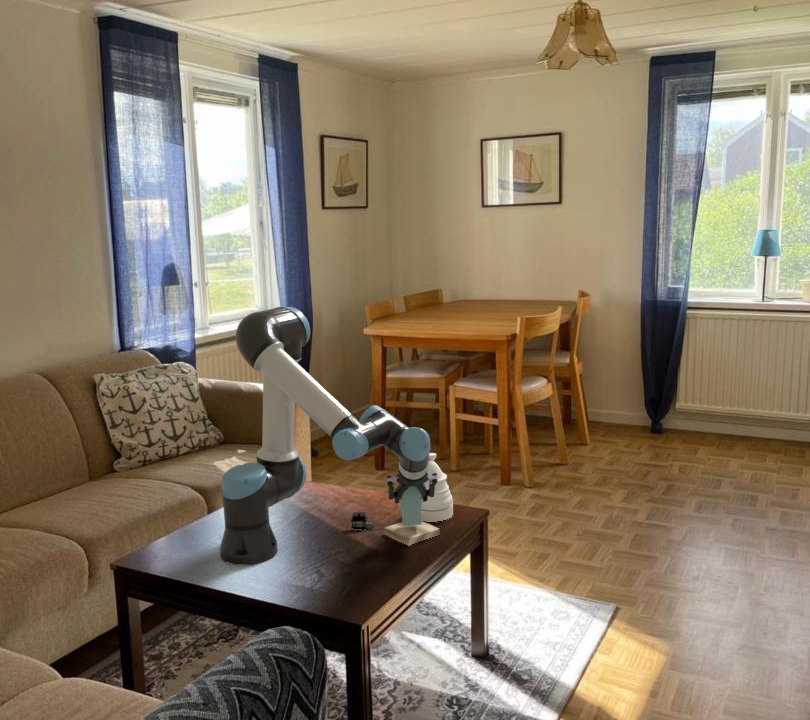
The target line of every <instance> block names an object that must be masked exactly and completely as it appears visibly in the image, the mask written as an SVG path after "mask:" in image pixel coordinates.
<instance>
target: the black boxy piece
mask: <svg viewBox="0 0 810 720" xmlns="http://www.w3.org/2000/svg"><path fill="white" fill-rule="evenodd" d="M368 519H369V518H368V515H367V511H366V512H365V511H361V512H360V511H359V512H358V511H354V512H353V513H352V516H351V520H350V522H351V524H352V526H351V528H353V529H362V530H364V529H366V530H372V529H373V528H374V526H377V524H376V525H374V526H373V524H374V523H368Z"/></svg>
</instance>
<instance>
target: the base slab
mask: <svg viewBox="0 0 810 720" xmlns="http://www.w3.org/2000/svg"><path fill="white" fill-rule="evenodd" d="M440 530H441V529H440V527H437V526H435V525H433V524H431V523H426V522H423V521H421V525H403V522H402V521H400V522H397V523H395V524H391V525H388V526H385V527H383V531H384V532H383V533H384V535H385V536H387V537H389V538H391V539H393V540H395V541H397V542H398V543H401V542H402V543H401V544H403V543H404V544H403V545H405V544H406V545H405V546H407V545H408V546H407V547H411V546H413V545H412V544H414V545H416V544H415V543H417V544H419V543H418V542H420V541H423V540H426V539H428V540H430V539H429V538H431V539H433V538H432V537H434V538H436V537H435V536H437V537H439V536H438V535H440V536H441V531H440ZM426 541H427V540H426ZM423 542H424V541H423ZM420 543H421V542H420ZM410 545H411V546H410Z"/></svg>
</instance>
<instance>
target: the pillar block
mask: <svg viewBox="0 0 810 720" xmlns="http://www.w3.org/2000/svg"><path fill="white" fill-rule="evenodd" d="M401 522H403V525H421V495H420V491H419V490H418V489H417V487H409V488H408V489H407V490H405V492H404V493H403V495H402V510H401Z"/></svg>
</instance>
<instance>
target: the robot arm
mask: <svg viewBox="0 0 810 720" xmlns="http://www.w3.org/2000/svg"><path fill="white" fill-rule="evenodd" d="M310 336H311V327H310V323H309V320H308V318H307V317H306V316H305V315H304V313H303V312H302V311H300V310H299V309H298V308H295V307H294V306H293V307H292V306H277V307H274V308H271V309H266V310H262V311H256V312H252V313H249V314H247V315H246V316H245V317H243V318H242V319H241V320H240V322H239V324H238V325H237V329H236V330H235V343H236V346H237V349H238V351H239V353H240V355H241V356H242V357H243V359H244V361H245V362H246V363H247V364H248V365H249V366H250V367H251V368H252V369H253V370H255V372H257V373H263V375H262V377H263V379H262V380H263V381H262V391H263V392H262V442H261V443H262V444H261V448H260V449H259V450H257V452H256V462H247V463H243V464H238V465H235V466H232V467H230V468H229V469H228V470H226V471H225V472H224V474H223V476H222V479H221V494H222V495H221V496H222V506H223V517H224V518H223V519H224V531H223V535H222V538H221V539H222V540H221V543H220V547H219V553H220V554H219V555H220V559H221V560H222V561H223V560H224V561H223V562H225V561H226V562H225V563H227V562H229V563H228V564H231V563H232V564H231V565H237V564H247V565H255V564H258V563H263V562H266V561H268V560H270V559H272V558H274V557H275V556H276V555H277V554H278V541H277V538H276V536H275V534H274V531H273V529H272V525H271V523H270V515H269V510H270V509H269V508H271V507H273V506H274V505H276V504H278V503H281V502H282V501H284V500H287V499H289V498H292V497H293V496H294V495H295V494H297V493H298V492H299V491H301V490H302V488H303V487H304V485H305V483H306V480H307V467H306V464H305V463H303V462H304V460H303V459H302V457H300V452H299V451H298V449H296V448H295V447H294V445H295V441H294V439H295V405H297V406H298V408H299V409H301V410H302V411H303V412H304V413H305V414H306V415H307V416H308V417H309V418H310V419H311V420H313V422H314V423H316V425H318V426H319V427H320V428H321V429H322V431H324V432H325V434H327V435H328V436H329V437H330V438H331V439H332V442H331V443H332V445H331V446H332V448H333V451H334V453H335V454H336V456H337V457H338V458H340V460H341V459H342V460H343V461H353V460H356V459H359V458H362V457H363V456H364V455H366V454H367V453H369V452H371V451H374V450H375V449H378V448H380V447H381V446H383V447H384V448H385V449H387V450H388V451H390V452H391V453H393V454H394V455H396V456H397V457H398V472H397V474H396V476H392V475H387V476H386V481H387V487H388V488H387V489H388V490H387V491H388V500H393V499H394V504H398V511H402V495H403V493H404V492H405V490H407V489H408V488H409V487H417V489H418V490H419V491H420V495H421V509H422V505H423V502H426V501H427V500H428V499H427V497H428V496H430V497H434V492H435V485H436V484H437V482H438V480H437V473H433V474H432V475H428V473H427V470H428V460H430V459H429V454H430V453H431V439H430V438H431V437H430V435H429V433H428V432H427V431H426V430H425V429H424V428H420V427H416V426H411V427H409V426H408V425H406V423H403V421H401V420H399V419H398V418H397V417H395V416H394V415H392V414H391V413H390V412H389V411H387V410H386V409H384V408H382V407H381V406H379V405H376V404H373V405H371V406H369V407H368V408H367V409H366V410H365V411H364V412H363V413H362V415H361V416H360V418H359V419H358V418H356V417H355V416H354V415H353V414H352V413H351V412H350V411H349V410H348V409H347V408H346V407H345V406H344V405H343V404H341V402H340V401H338V400H337V399H336V398H335V397H334V396H333V395H332V394H331V393H330V392H329V391H327V390H326V389H325V388H324V386H322V385H321V384H320V382H318V381H317V380H316V379H315V378H314V376H312V375H311V374H310V373H309V372H307V371H306V369H305V368H303V367H302V366H301V365H300V364H299V361H301V360H302V353H303V352H302V350H303V349H302V347H305V345H306V344H307V343H308V341H309V340H310ZM428 480H429V490H427V489H426V487H425V485H424V483H425V482H427V481H428ZM396 483H398V485H397V487H396V488H395V486H396Z"/></svg>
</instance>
